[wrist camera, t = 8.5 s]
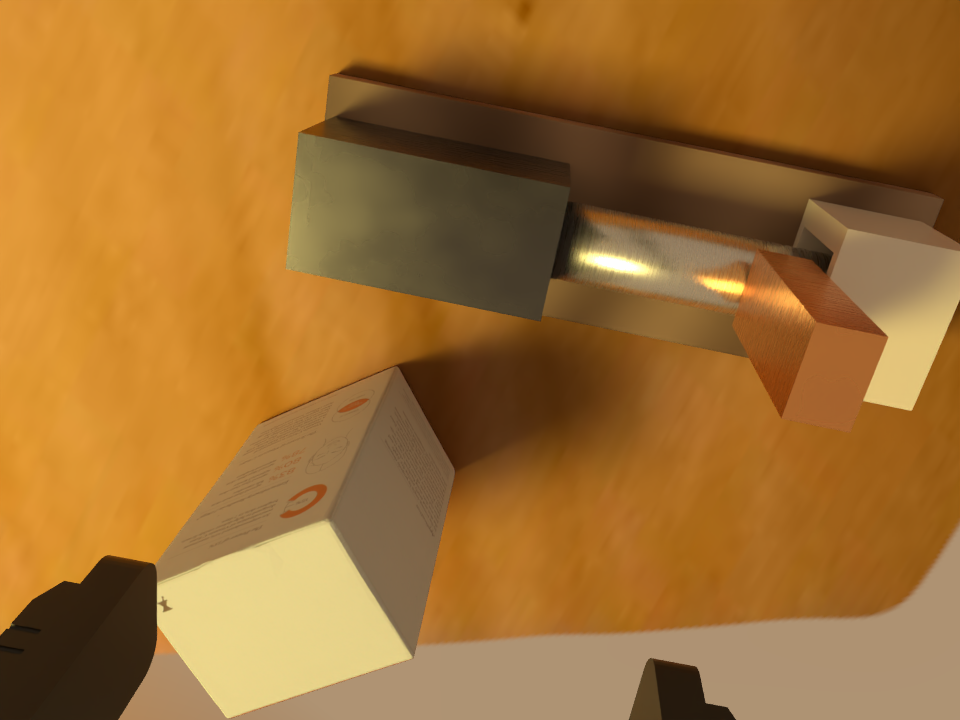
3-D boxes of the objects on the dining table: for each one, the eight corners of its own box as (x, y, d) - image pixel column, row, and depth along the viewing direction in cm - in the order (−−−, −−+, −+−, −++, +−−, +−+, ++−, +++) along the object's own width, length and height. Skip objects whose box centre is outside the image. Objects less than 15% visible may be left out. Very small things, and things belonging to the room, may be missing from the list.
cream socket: (761, 337, 36) (790, 385, 31) (809, 198, 33) (848, 228, 29) (866, 359, 36) (911, 410, 31) (921, 221, 33) (978, 255, 29)
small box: (319, 525, 43) (223, 725, 31) (255, 422, 41) (126, 592, 29) (461, 472, 41) (417, 662, 29) (400, 361, 39) (327, 516, 27)
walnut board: (316, 259, 37) (308, 267, 36) (337, 73, 34) (329, 75, 33) (861, 371, 37) (870, 382, 36) (932, 193, 34) (944, 199, 33)
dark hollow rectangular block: (321, 235, 36) (285, 268, 31) (335, 115, 34) (298, 132, 29) (543, 281, 36) (540, 321, 31) (570, 163, 34) (570, 187, 29)
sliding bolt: (501, 255, 34) (474, 355, 24) (515, 183, 33) (494, 256, 23) (840, 325, 34) (953, 454, 24) (867, 254, 33) (997, 359, 23)
